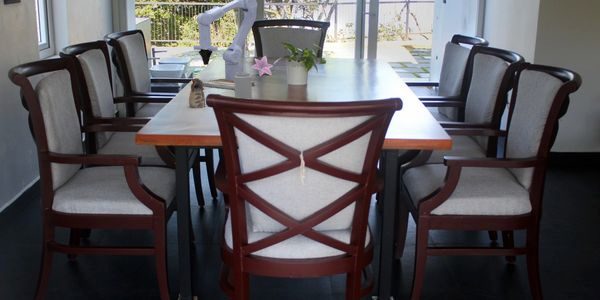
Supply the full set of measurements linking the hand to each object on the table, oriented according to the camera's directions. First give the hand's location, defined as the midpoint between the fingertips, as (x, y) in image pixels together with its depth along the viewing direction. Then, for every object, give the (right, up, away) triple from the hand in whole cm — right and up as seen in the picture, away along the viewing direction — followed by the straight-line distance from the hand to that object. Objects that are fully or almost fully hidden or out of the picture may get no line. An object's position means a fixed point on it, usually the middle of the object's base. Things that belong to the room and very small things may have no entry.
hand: (206, 64), depth 355 cm
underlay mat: (+12, -11, -7) cm, 18 cm away
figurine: (+4, -25, -58) cm, 63 cm away
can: (+22, -21, -45) cm, 54 cm away
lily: (+27, -2, +29) cm, 39 cm away
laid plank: (+14, -11, -4) cm, 18 cm away
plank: (+10, -12, -10) cm, 18 cm away
